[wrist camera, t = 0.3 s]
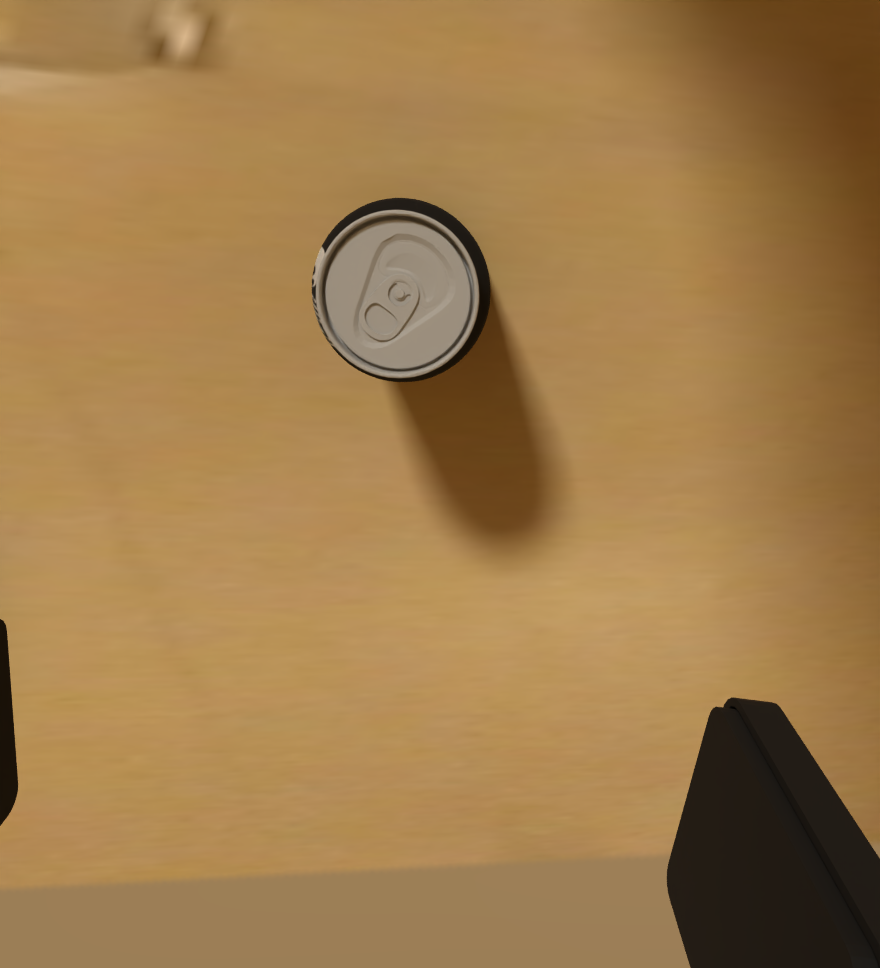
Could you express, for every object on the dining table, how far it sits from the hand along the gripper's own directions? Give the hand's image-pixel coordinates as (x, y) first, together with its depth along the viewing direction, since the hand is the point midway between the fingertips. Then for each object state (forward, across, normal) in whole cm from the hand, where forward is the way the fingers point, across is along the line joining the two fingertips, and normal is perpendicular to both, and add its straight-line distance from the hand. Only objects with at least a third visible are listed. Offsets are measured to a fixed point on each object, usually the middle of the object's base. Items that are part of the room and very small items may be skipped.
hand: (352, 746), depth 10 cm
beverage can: (+31, +2, -4) cm, 31 cm away
